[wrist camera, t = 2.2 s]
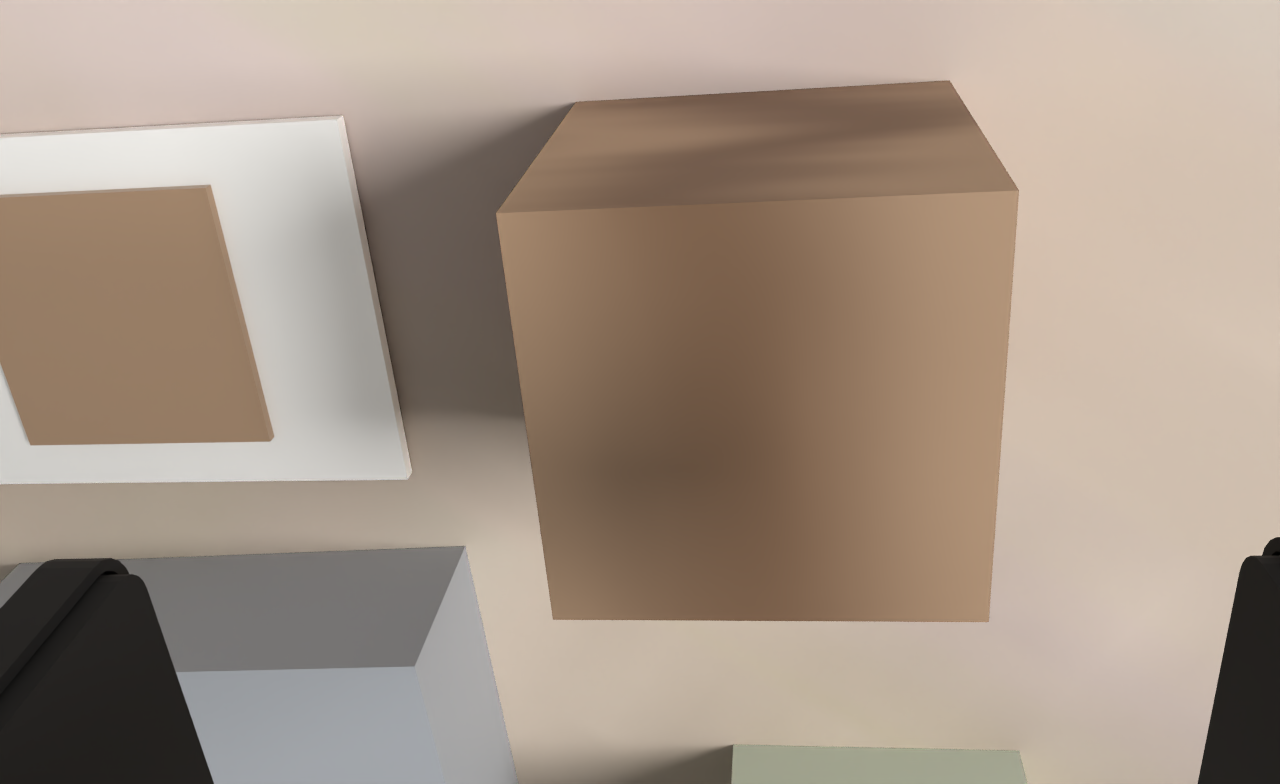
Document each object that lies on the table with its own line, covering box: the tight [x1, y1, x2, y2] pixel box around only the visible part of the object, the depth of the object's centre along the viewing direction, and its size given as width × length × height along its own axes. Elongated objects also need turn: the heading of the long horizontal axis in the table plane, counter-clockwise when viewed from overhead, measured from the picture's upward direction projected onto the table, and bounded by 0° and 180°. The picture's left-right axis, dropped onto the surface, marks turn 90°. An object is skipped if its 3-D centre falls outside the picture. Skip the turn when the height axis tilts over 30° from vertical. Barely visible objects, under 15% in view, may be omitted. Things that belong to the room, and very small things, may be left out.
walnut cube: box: [496, 81, 1019, 622], centre depth 17 cm, size 6×6×6 cm
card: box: [0, 115, 412, 484], centre depth 21 cm, size 10×7×1 cm
